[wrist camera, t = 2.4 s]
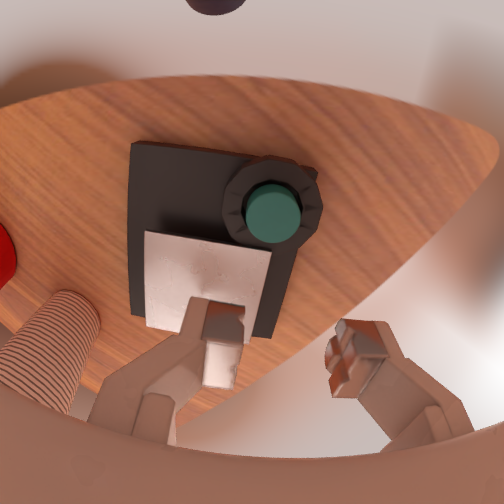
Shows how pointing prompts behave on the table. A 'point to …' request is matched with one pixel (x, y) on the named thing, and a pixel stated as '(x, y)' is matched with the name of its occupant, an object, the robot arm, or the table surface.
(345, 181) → the table surface
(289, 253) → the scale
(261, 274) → the pan
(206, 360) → the robot arm
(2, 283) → the soda can
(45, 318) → the cup
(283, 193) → the button
